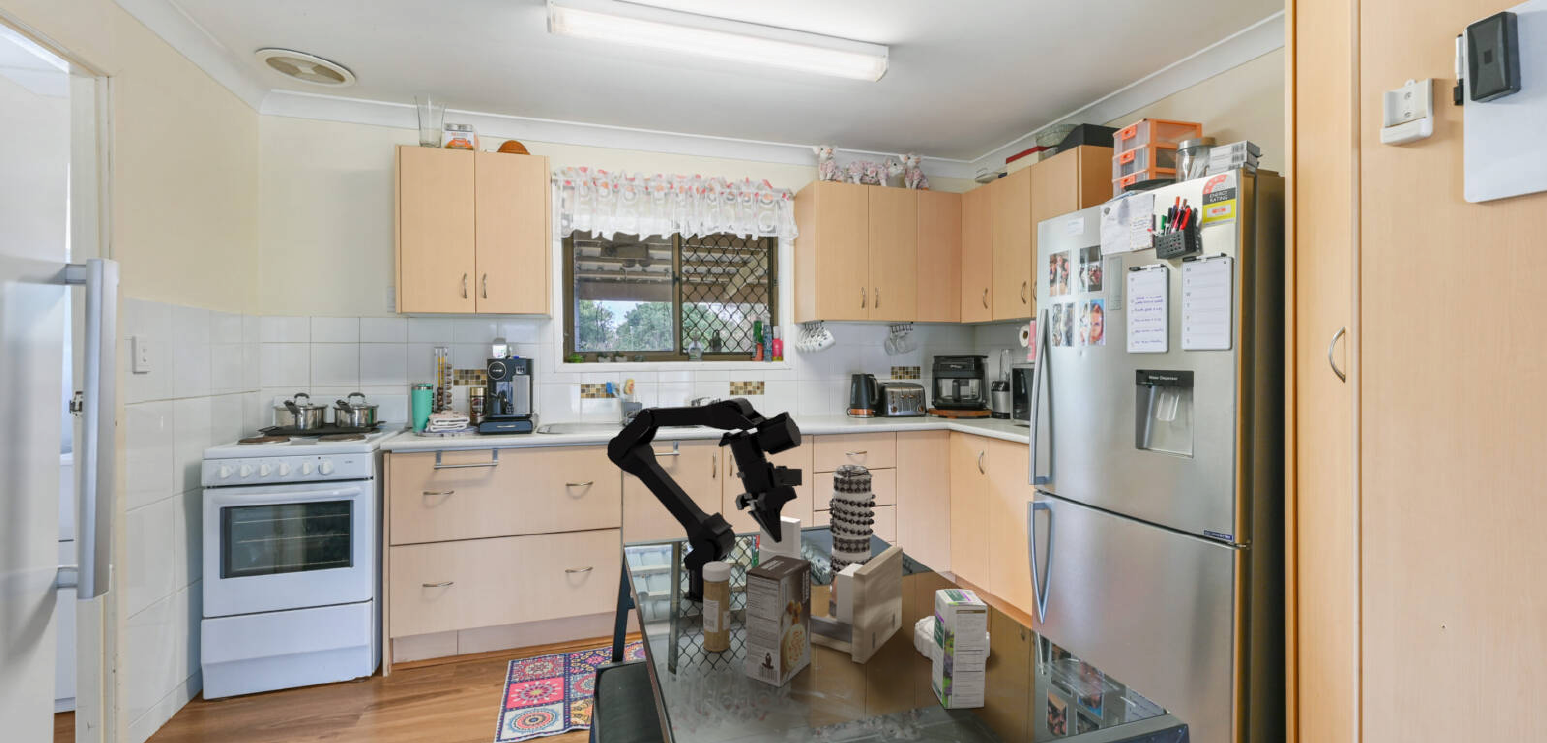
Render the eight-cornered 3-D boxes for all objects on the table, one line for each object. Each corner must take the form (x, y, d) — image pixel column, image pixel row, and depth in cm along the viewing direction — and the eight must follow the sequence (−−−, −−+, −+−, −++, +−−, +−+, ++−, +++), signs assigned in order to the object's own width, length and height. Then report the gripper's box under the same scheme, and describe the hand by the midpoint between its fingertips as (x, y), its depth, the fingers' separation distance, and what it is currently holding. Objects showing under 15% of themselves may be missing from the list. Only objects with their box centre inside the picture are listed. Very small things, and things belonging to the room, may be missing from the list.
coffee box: (776, 652, 104) (777, 553, 103) (811, 662, 101) (813, 560, 100) (744, 676, 96) (744, 570, 96) (780, 689, 93) (782, 579, 92)
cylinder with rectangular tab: (808, 571, 141) (808, 516, 140) (786, 584, 133) (787, 526, 133) (773, 563, 146) (773, 510, 145) (750, 575, 138) (751, 519, 138)
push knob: (829, 630, 109) (830, 572, 109) (845, 617, 114) (846, 561, 114) (863, 639, 106) (864, 579, 105) (878, 626, 111) (879, 568, 110)
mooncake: (1004, 664, 101) (1004, 641, 101) (931, 669, 99) (932, 646, 99) (968, 630, 113) (969, 610, 113) (903, 634, 111) (903, 614, 111)
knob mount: (796, 644, 107) (797, 560, 106) (839, 610, 120) (840, 536, 120) (863, 664, 100) (865, 575, 100) (901, 626, 114) (902, 547, 113)
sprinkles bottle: (735, 648, 105) (736, 566, 104) (710, 655, 103) (711, 572, 102) (721, 637, 109) (722, 558, 108) (697, 644, 106) (697, 563, 106)
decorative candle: (883, 595, 128) (885, 469, 127) (843, 602, 124) (845, 473, 123) (857, 579, 136) (859, 461, 135) (819, 586, 132) (821, 464, 131)
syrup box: (930, 687, 94) (932, 589, 93) (970, 686, 94) (972, 588, 94) (944, 710, 88) (946, 605, 87) (986, 708, 88) (989, 604, 88)
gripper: (807, 443, 117) (836, 527, 115) (773, 452, 134) (798, 525, 132) (751, 464, 112) (781, 551, 111) (723, 470, 130) (749, 545, 128)
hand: (778, 542), depth 121 cm, fingers closed
